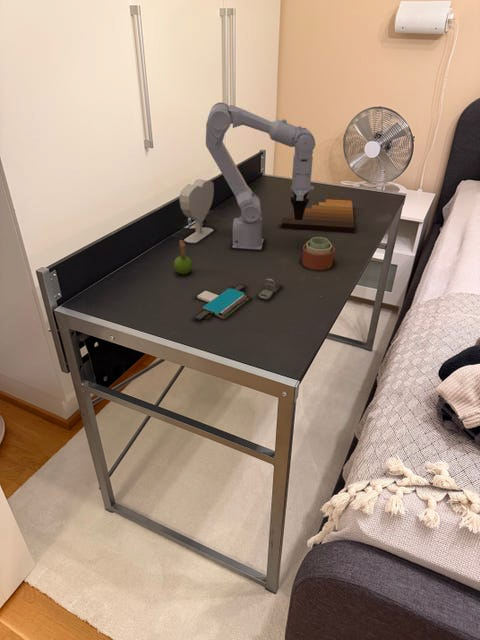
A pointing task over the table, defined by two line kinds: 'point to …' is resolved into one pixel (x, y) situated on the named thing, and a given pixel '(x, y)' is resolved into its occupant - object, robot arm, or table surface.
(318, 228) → the pan flute
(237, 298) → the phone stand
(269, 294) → the strap clip
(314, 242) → the sage cup
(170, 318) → the table surface
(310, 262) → the stack base cup
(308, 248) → the stack top cup
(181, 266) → the green candy apple
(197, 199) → the heart sculpture
